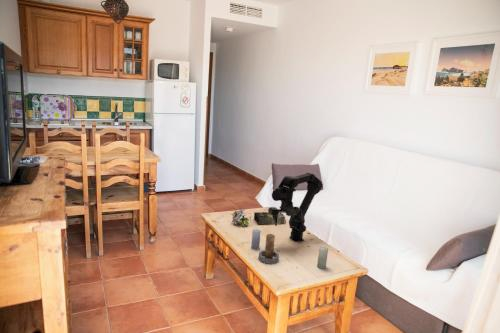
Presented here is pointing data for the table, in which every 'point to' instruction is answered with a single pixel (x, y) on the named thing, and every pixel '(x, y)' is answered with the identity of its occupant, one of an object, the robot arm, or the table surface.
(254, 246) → the slate-blue peg
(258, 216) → the dark olive boxy piece
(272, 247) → the walnut peg
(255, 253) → the table surface
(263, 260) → the steel ring
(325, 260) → the grey-green peg
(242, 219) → the green succulent plant
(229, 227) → the table surface
